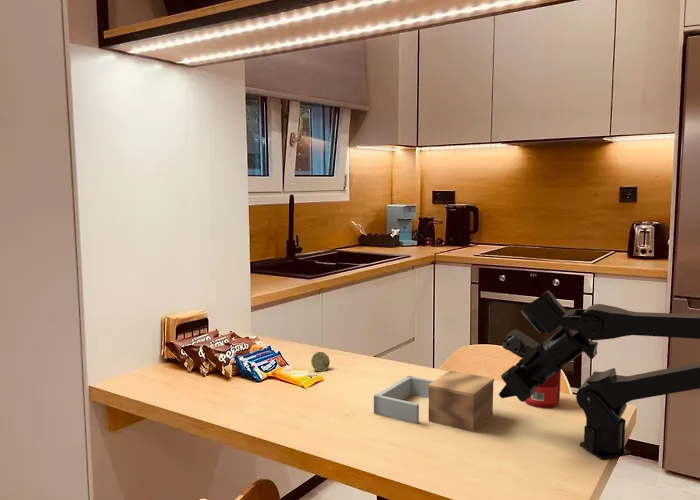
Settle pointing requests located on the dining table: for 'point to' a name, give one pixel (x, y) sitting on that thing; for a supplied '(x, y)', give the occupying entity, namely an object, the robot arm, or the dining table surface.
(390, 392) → the bay
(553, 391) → the canned food
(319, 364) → the olive speckled ball
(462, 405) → the tea box
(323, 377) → the dining table surface
